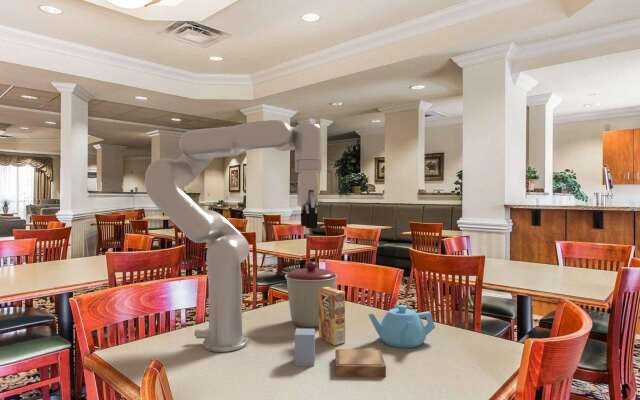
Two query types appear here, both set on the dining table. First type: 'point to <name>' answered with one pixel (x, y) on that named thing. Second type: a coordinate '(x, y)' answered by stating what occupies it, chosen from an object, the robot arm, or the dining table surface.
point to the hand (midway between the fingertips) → (308, 226)
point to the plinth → (360, 363)
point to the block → (304, 347)
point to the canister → (307, 293)
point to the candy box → (332, 315)
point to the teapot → (403, 327)
